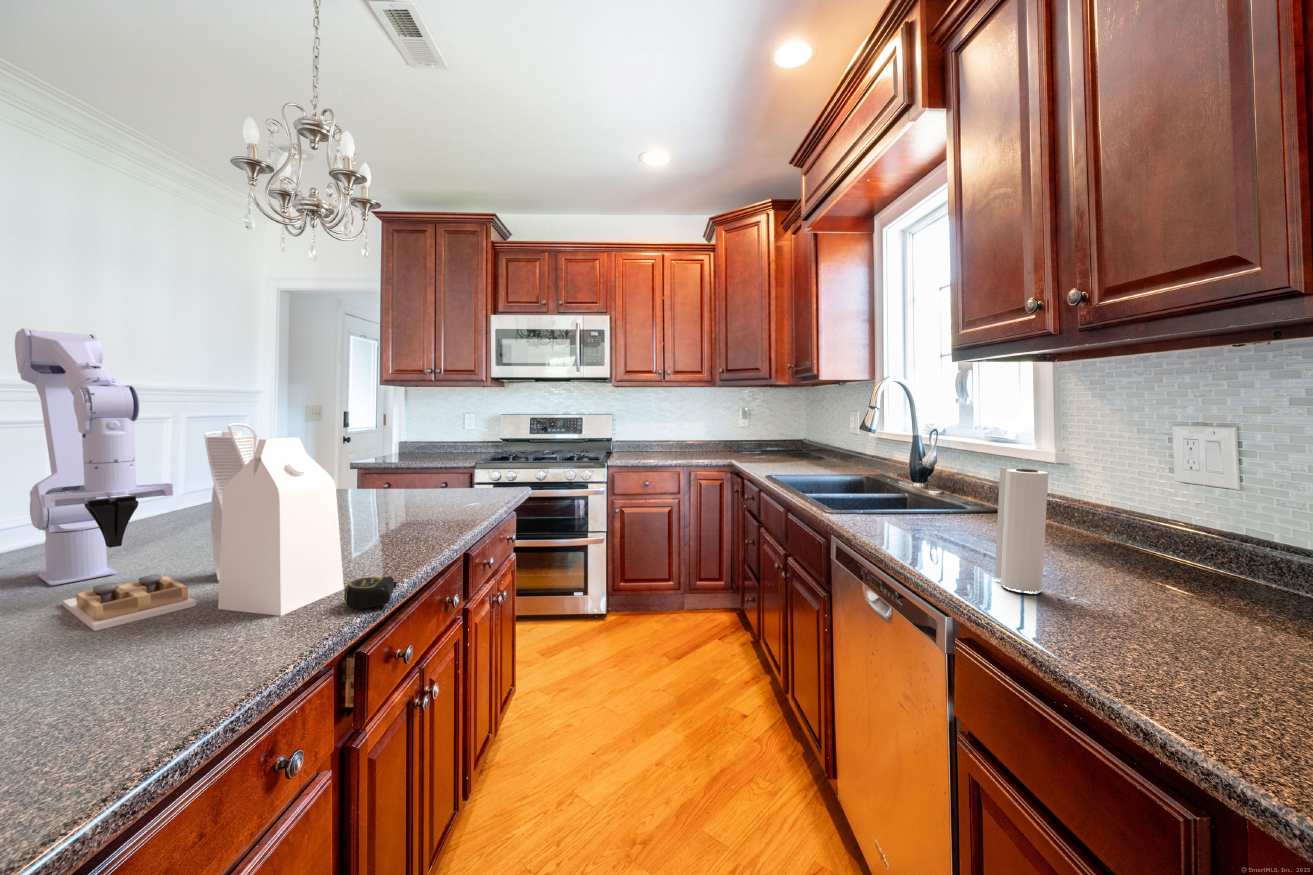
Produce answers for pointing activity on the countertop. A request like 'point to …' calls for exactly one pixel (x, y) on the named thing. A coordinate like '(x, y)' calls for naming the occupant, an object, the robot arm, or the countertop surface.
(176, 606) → the mounting plate
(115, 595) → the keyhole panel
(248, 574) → the milk
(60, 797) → the countertop surface
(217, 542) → the skyscraper
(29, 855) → the countertop surface
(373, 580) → the tape measure
